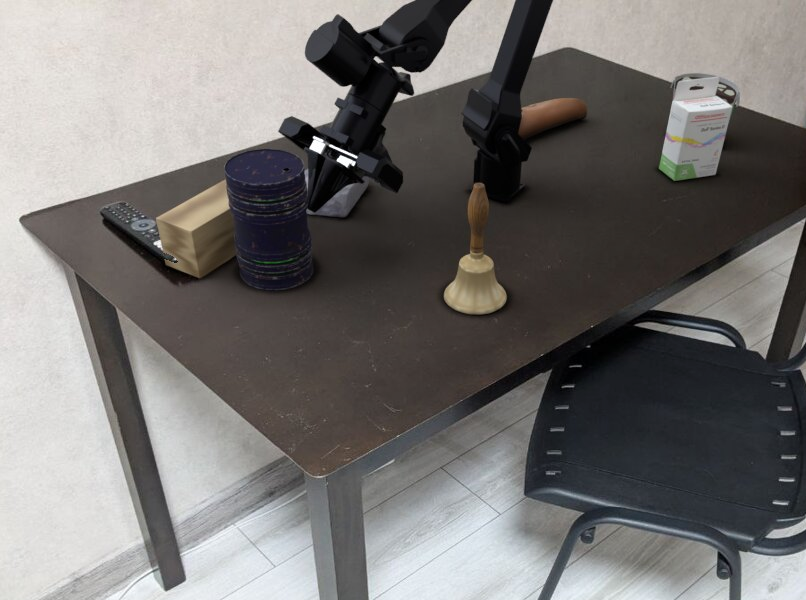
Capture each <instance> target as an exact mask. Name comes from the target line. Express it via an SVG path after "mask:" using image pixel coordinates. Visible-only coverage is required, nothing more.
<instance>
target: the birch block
mask: <svg viewBox="0 0 806 600" xmlns="http://www.w3.org/2000/svg"><path fill="white" fill-rule="evenodd" d="M226 185H227V184H226V178H225V179H224V180H223V179H222V181H220V182H218V183H216V184H214V185H212V186H210V187H209V188H208V189H206V190H203V191H201V192H200V193H198V194H197V195H195V196H193V197H191V198H189V199H188V200H186V201H184V202H182V203H181V204H179V205H177V206H175V207H174V208H172V209H169V210H168V211H166V212H164V213H163V214H161V215H159V216H157V217H156V218H155V220H156V227H157V230H158V235H159V240H160V245H161V250H162V253H165V254H166V253H167V254H169V255H171V256H173V257H174V258H176V259H177V261H178V262H177V263H174V262H171V261H169V260H166V259H164V263H165V266H167V267H169V268H172V269H175V270H177V271H179V272H182V273H185V274H188V275H190V276H193V277H195V278H198V279H202V278H203V277H205V276H206V275H208V274H210V273H211V272H213V271H215V269H217V268H218V267H220V266H221V265H223V264H225V263H226V262H228V261H229V260H231V259H233V258H235V257H237V256H236V246H235V243H234V235H235V232H236V231H235V224H234V218H233V214H232V212H231V210H230V207H229V204H228V203H229V199H228V196H227V190H226Z"/></svg>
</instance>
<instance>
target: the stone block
mask: <svg viewBox="0 0 806 600" xmlns="http://www.w3.org/2000/svg"><path fill="white" fill-rule="evenodd" d="M304 174H305V180H306V183H307V195H308V168H307V169H305V173H304ZM363 180H364V181H365V182H364V183H363V184H360V183H355V184H351V185H347V186H346V187H344V188H343V189H342V190H340V191H339V192H338V193H337V194H336V195H334V196H333V197H332V198H331V199H330V200H329V201H328V202H327V203H326V204H325V205H323V206H322V207H321V208H320V209H319V210H318V211H317V212H315V213H314V212H312V211H310V210H309V209H307V210H306V213H307V215H312V216H326V217H334V218H336V217H337V218H346V217H347V216H348V215H349V214H350V212H351V211H352V210H353V208H354V207H355V205H356V203H357V202H358V201H359V200H360V198H361V196H362V195H363V194H364V192H365V191H366V190H367V188H368V187H369V185H370V180H371V178H369V177H367V176H365V177H363Z"/></svg>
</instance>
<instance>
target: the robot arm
mask: <svg viewBox="0 0 806 600" xmlns="http://www.w3.org/2000/svg"><path fill="white" fill-rule="evenodd" d="M472 1H473V0H412V1H409V2H408V3H406V4H403V5H402V6H401V7H400V8H398V9H397V10H396V11H394V12H393V13H392V14H390V15H389V16H388V17H387V18H386V19H385V20H384V21H383V22H382V24H381V25H377V26H374V27H372V28H369V29H366V30H363V31H361V32H358V31H357V30H356V29H355V27H354V26H353V24H351V23H350V22H349V21H348V20H347V19H346V18H345V17H343V16H342V15H340V14H335V15H334V17H333V19H332V20H331V21H326V22H325V23H323V24H321V25H320V26H319V27H318V28H317V29H314V30H313V31H312V32H311V33H310V35H309V37H308V40H307V41H306V44H305V48H304V56H305V59H306V60H307V61H308V62H309V63H310V64H311V65H313V66H314V67H315V68H317V69H318V70H319V71H320V72H322V73H323V74H324V75H325V76H327V77H328V78H329V79H330V80H332V81H333V82H334V83H335V84H337V85H338V86H339V87H342V88H343V87H349V90H348V92H347V93H346V96H345V97H344V99H343V98H340V97H336V100H335V102H334V106H336V107H337V108H338V111H337V113H336V114H335V116H334V118H333V120H332V122H331V124H330V126H329V127H328V126H326V125H322V126H321V128H320V130H317V129H316V128H315V127H314V126H312V125H311V124H310V123H309V122H306V121H304V120H302V119H299V118H297V117H296V116H293V115H290V116H288V117H286V118H283V121H282V122H281V125H280V127H279V129H278V130H277V132H278V133H279V134H280V135H282V136H283V137H284V138H286V139H287V140H288V141H290V143H292V144H294V145H295V146H296V147H297V148H299V149H300V150H302V151H304V152H305V154H306V153H307V169H308V195H307V197H308V207H307V209H309V210H310V211H312V212H314V213H315V212H317V211H318V210H319V209H320V208H321V207H322V206H323V205H325V204H326V203H327V202H328V201H329V200H330V199H331V198H332V197H333V196H334V195H336V194H337V193H338V192H339V191H340V190H342V189H343V188H344V187H346V186H347V185H351V184H355V183H360V184H363V183H364V182H365V181H364V180H363V177H365V176H367V177H369V179H370V180H371V179H372V180H373V181H374V183H378V184H379V185H380V186H381V187H382V188H384V189H386V190H388V191H391V192H392V193H394V194H398V193H399V191H400V189H401V188H402V185H403V184H404V171H403V170H402V169H400V168H399V167H398V166H397V165H396V164H394V163H393V161H392V158H391V156H390V153H389V151H388V149H387V147H386V146H385V145H384V143H383V140H384V138H385V136H386V134H387V133H386V131H387V128H386V127H385V126H384V125H383V123H384V121H385V119H386V118H387V115H388V114H389V112H390V110H391V108H392V106H393V104H394V102H395V100H396V98H397V96H398V95H399V94H403V95H407V96H409V97H413V96H414V95H415V89H414V86H413V83H412V81H411V80H412V79H411V77H412V76H411V74H413V73H415V74H416V73H423V72H425V71H426V70H427V69H428V68H430V66H432V64H433V63H434V61H435V59H436V58H437V56H438V55H439V53H440V52H441V51H442V49H443V47H445V44H446V40H447V37H448V33H449V29H450V27H451V26H452V24H453V23H454V21H455V20H456V19H457V18H458V17H459V16H460V15H461V14H462V12H464V10H465V9H466V8H467V7H468V6H469V5H470V3H472ZM553 2H554V0H515V1H514V4H513V7H512V9H511V12H510V15H509V19H508V21H507V24H506V27H505V31H504V33H503V36H502V39H501V42H500V45H499V49H498V51H497V53H496V57H495V60H494V62H493V66H492V70H491V72H490V75H489V77H488V80H487V81H486V82H485V83H484V84H483V86H481V87H480V88H479V89H475V88H473V87H471V88H470V89H469V91H468V94H467V100H466V104H465V105H464V108H463V109H462V110H461V111H460V114H461V115H462V116H463V118H462V127H463V129H464V132H465V134H466V135H467V136H468V137H469V138H470V139H471V142H472V145H473V146H475V147H477V148H478V150H477V151H476V152H477V153H476V157H475V158H474V159H473V179H472V180H473V186H471V187H470V190H469V191H470V193H472V191H473V187H474V184H475V183H483V184H484V186H485V191H486V194H487V198H488V199H492V200H494V201H497V202H500V203H508V202H509V201H511V200H512V199H513V198H514V197H516V195H518V193H520V192H521V191H522V190H523V189H525V183H522V182H521V177H522V164H523V163H524V162H527V161H528V160H529V158H530V155H531V153H532V150H533V147H532V146H531V145H530V144H529V143H528V142H527V141H526V139H525V140H524V139H523V138H522V137H521V136H520V135H519V134H518V133H519V128H520V124H521V119H522V111H521V108H522V99H521V94H522V89H523V87H524V83H525V81H526V78H527V75H528V73H529V69H530V67H531V64H532V61H533V58H534V56H535V53H536V50H537V47H538V44H539V41H540V38H541V35H542V33H543V30H544V27H545V25H546V22H547V19H548V17H549V13H550V10H551V8H552V5H553ZM375 58H377V59H379V60H380V61H381V62H378V61H377V60H375ZM395 68H401V69H402V70H404V71H405V72H403V71H397V70H396V69H395Z"/></svg>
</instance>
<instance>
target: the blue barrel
mask: <svg viewBox="0 0 806 600" xmlns="http://www.w3.org/2000/svg"><path fill="white" fill-rule="evenodd" d="M223 170H224V175H225V179H226V184H227V185H226V190H227V196H228V199H229V203H228V204H229V207H230V210H231V212H232V214H233V218H234V224H235V231H236V232H235V235H234V243H235V246H236V256H235V257H236V260H237V263H238V266H239V275H240V278H241V279H242V281H243V282H244V283H246V284H247V285H249V286H251V287H253V288H256V289H259V290H265V291H282V290H288V289H293V288H295V287H298V286H300V285H303V284H305V282H307V281H308V280H309V279H310V278H311V277H312V275H313V274H314V263H313V254H314V251H313V242H312V241H313V237H312V233H311V230H310V229H309V225H308V214H307V213H306V210H307V207H308V197H307V183H306V180H305V174H304V173H305V170H306V169H305V163H304V160H303V159H302V158H301V157H300V156H298V155H297V154H296V153H293V152H290V151H287V150H283V149H277V148H257V149H251V150H245V151H243V152H240V153H239V152H238V153H237V154H234V155H233V156H231V157H230V158H228V159H227V160H226V162H225V163H224V165H223Z"/></svg>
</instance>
